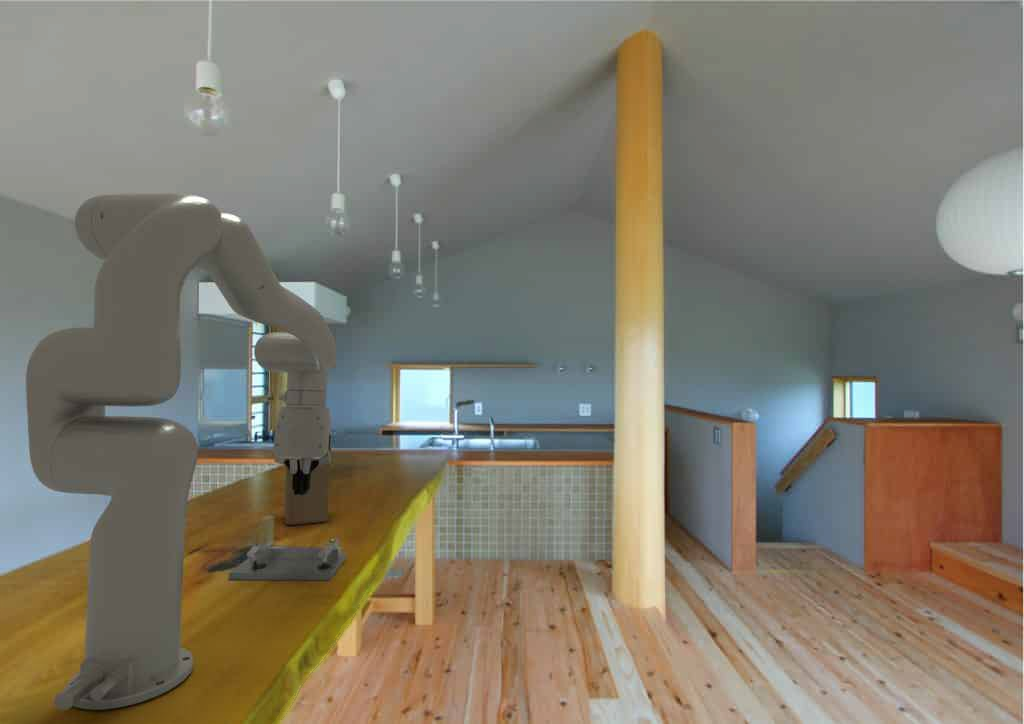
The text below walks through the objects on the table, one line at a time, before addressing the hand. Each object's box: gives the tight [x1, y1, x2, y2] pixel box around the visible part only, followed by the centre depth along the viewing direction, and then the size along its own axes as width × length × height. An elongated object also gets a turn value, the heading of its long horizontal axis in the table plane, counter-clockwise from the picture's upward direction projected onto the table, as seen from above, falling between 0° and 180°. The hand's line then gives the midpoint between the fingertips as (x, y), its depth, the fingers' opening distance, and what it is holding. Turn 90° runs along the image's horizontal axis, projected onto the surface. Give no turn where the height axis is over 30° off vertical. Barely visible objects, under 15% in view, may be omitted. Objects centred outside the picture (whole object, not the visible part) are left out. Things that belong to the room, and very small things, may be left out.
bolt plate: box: [228, 537, 347, 581], centre depth 105 cm, size 12×18×5 cm, turn 93°
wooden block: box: [283, 457, 331, 526], centre depth 141 cm, size 10×10×20 cm
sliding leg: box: [246, 515, 275, 565], centre depth 105 cm, size 8×2×8 cm, turn 3°
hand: (300, 493), depth 107 cm, fingers closed
